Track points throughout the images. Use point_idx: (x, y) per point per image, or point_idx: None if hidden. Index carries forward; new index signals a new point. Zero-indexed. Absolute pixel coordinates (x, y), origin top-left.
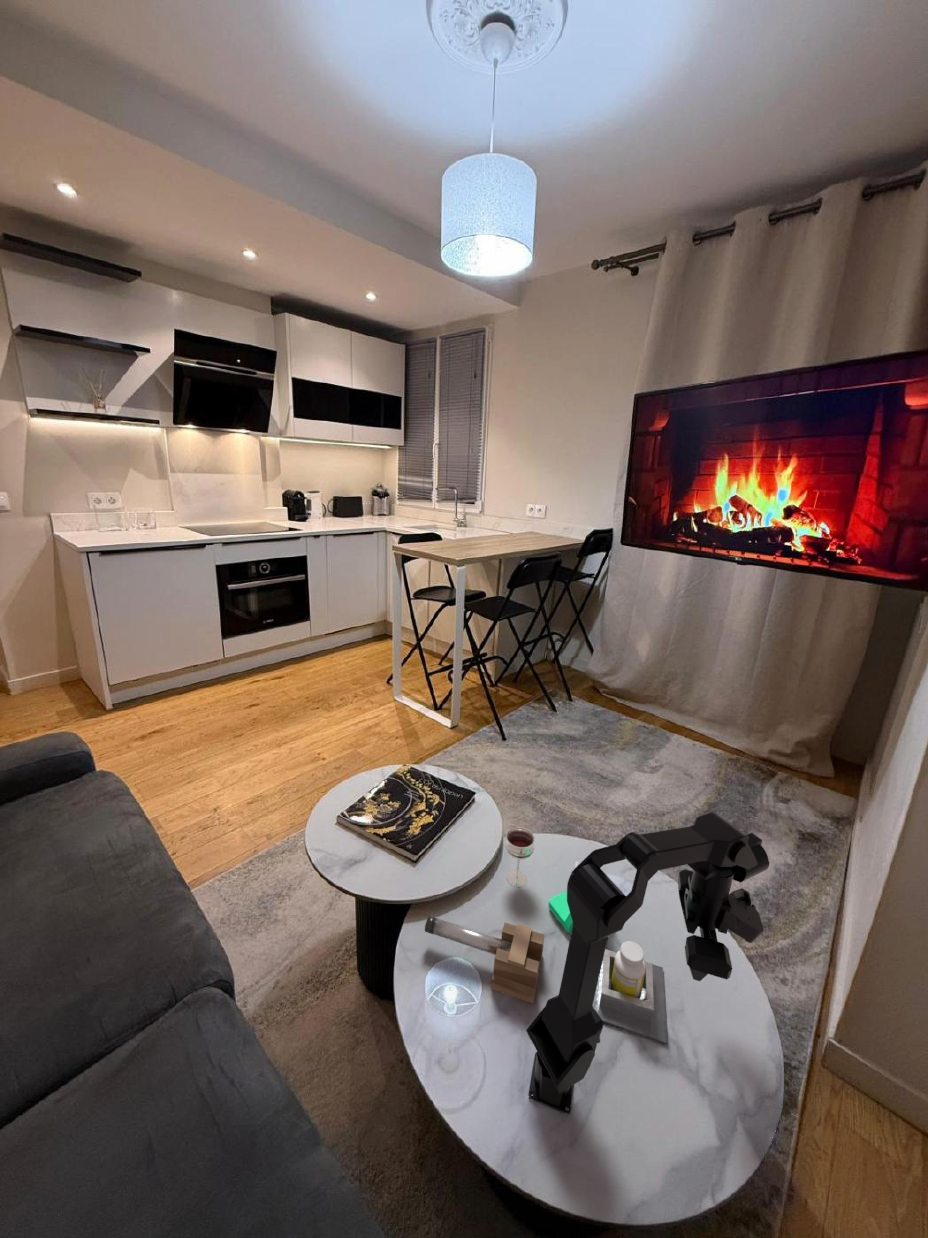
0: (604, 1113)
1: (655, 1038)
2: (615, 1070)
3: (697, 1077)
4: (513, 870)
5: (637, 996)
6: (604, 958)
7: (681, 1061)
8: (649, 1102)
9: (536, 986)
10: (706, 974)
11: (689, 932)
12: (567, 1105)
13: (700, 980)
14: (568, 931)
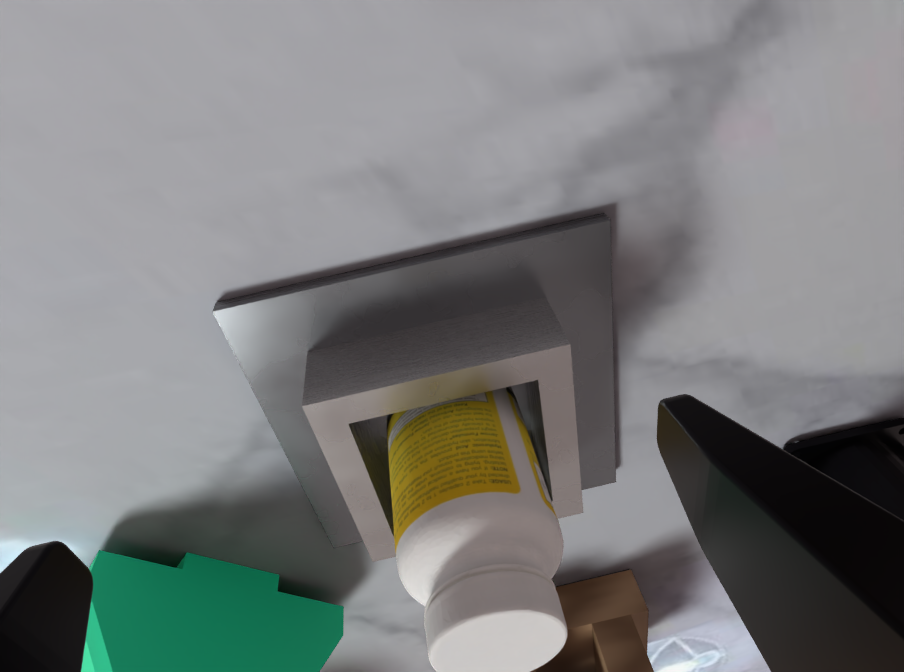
0: (891, 344)
1: (611, 269)
2: (758, 351)
3: (702, 55)
4: None
5: (498, 395)
6: None
7: (651, 140)
8: (842, 231)
9: (577, 584)
10: (900, 530)
11: (81, 573)
12: (898, 433)
13: (708, 409)
14: (342, 615)
